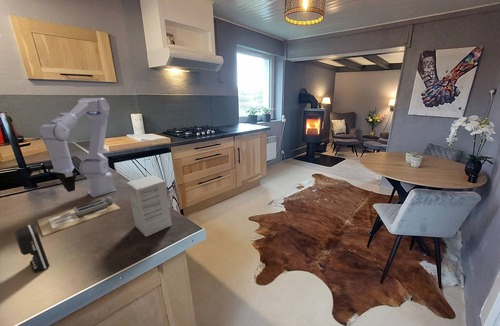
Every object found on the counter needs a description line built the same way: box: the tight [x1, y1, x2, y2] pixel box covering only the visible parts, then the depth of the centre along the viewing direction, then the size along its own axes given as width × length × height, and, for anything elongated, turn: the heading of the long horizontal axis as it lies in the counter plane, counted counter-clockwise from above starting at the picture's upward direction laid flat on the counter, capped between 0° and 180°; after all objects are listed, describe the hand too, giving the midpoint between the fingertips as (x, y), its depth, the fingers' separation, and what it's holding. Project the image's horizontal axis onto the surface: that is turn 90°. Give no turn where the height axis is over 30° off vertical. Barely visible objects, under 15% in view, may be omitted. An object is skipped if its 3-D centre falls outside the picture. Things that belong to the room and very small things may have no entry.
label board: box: [36, 198, 121, 237], centre depth 82 cm, size 23×14×1 cm, turn 140°
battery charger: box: [15, 223, 50, 273], centre depth 56 cm, size 7×4×11 cm, turn 51°
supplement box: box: [126, 174, 173, 238], centre depth 72 cm, size 10×9×17 cm
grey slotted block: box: [72, 196, 114, 216], centre depth 85 cm, size 12×6×2 cm, turn 140°
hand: (70, 189), depth 84 cm, fingers open, 4 cm apart
